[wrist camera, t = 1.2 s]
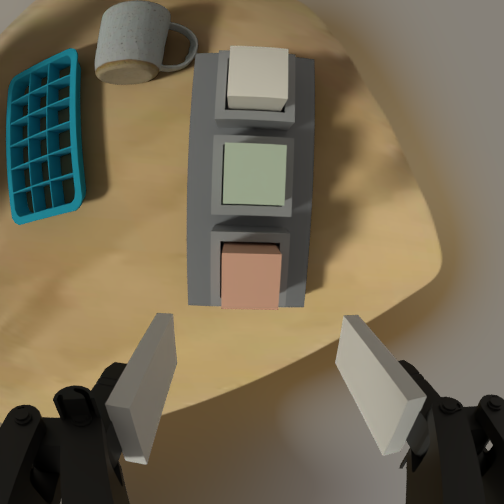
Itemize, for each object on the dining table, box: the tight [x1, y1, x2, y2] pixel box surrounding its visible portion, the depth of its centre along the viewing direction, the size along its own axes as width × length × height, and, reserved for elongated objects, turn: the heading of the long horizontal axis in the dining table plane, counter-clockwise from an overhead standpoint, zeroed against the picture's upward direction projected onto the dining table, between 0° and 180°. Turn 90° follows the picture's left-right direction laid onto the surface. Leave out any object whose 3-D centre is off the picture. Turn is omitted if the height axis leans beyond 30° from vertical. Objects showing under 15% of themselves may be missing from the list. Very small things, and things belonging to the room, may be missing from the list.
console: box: [187, 51, 315, 307], centre depth 27 cm, size 12×26×7 cm, turn 178°
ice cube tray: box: [6, 48, 86, 225], centre depth 27 cm, size 12×20×3 cm, turn 7°
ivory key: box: [227, 46, 288, 112], centre depth 21 cm, size 4×4×4 cm
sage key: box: [223, 143, 287, 206], centre depth 23 cm, size 4×4×4 cm
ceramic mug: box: [95, 0, 198, 85], centre depth 23 cm, size 11×8×8 cm
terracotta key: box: [221, 242, 282, 310], centre depth 25 cm, size 4×4×4 cm
